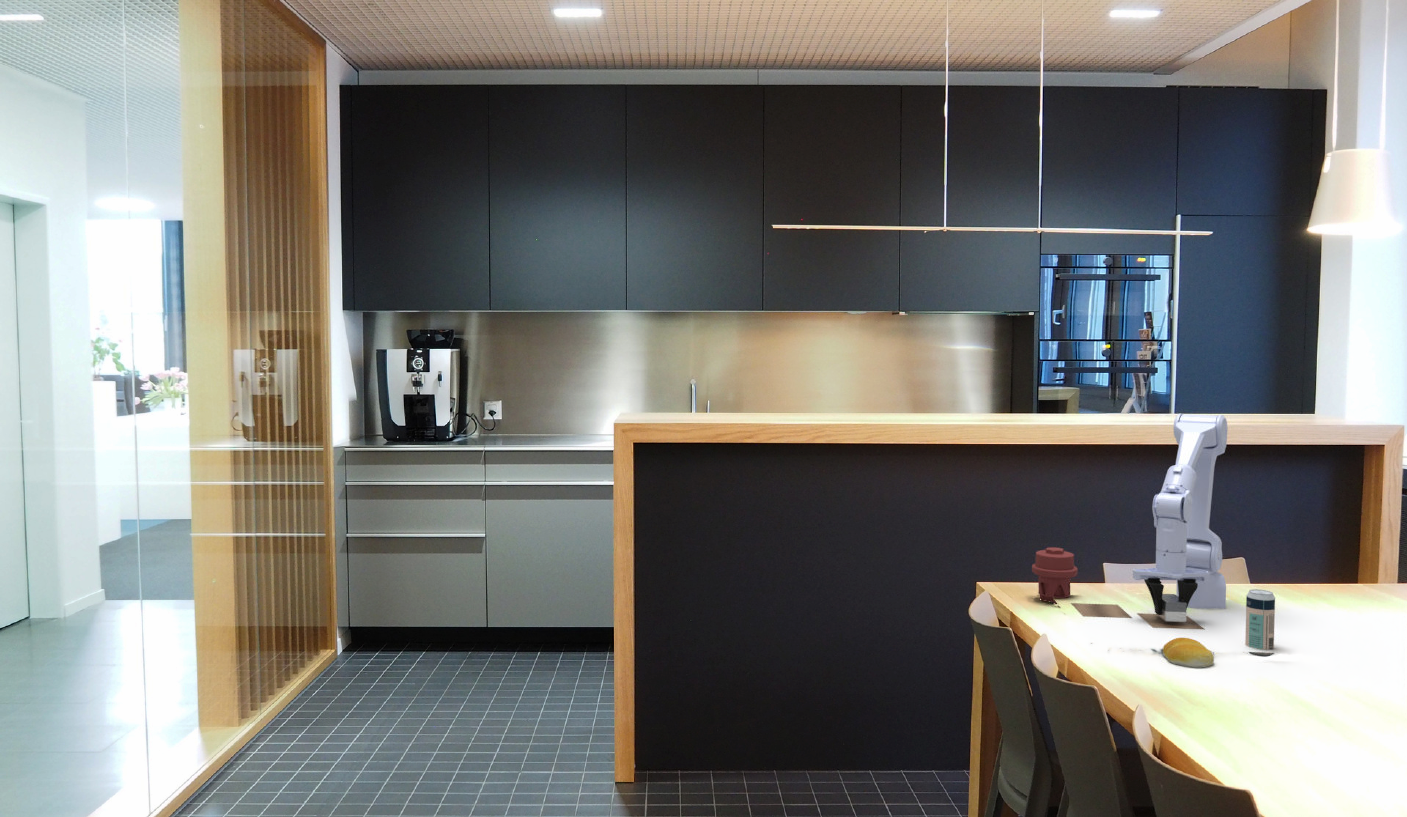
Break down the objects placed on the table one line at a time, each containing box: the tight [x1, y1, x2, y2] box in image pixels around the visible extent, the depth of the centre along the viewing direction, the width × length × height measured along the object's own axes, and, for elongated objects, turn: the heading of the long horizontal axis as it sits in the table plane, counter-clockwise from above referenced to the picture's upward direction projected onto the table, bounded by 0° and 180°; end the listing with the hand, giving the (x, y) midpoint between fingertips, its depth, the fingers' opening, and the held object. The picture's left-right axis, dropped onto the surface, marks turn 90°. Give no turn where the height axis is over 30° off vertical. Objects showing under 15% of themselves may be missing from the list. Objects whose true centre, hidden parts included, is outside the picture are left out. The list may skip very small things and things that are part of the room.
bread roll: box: [1162, 637, 1215, 669], centre depth 176 cm, size 8×9×4 cm
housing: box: [1159, 593, 1187, 622], centre depth 197 cm, size 4×7×4 cm, turn 171°
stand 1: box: [1070, 602, 1133, 619], centre depth 206 cm, size 10×11×2 cm
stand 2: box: [1136, 612, 1206, 630], centre depth 197 cm, size 10×11×2 cm
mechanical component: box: [1031, 546, 1079, 605], centre depth 219 cm, size 12×10×10 cm
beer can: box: [1244, 588, 1276, 658], centre depth 179 cm, size 5×5×12 cm
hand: (1170, 614), depth 197 cm, fingers closed on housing, 4 cm apart
